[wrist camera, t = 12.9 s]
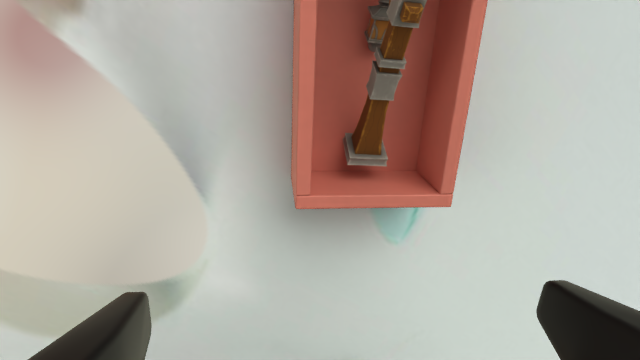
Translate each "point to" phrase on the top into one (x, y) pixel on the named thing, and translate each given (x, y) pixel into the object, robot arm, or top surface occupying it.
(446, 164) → the tray
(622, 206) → the top surface
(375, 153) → the wooden post with brackets
